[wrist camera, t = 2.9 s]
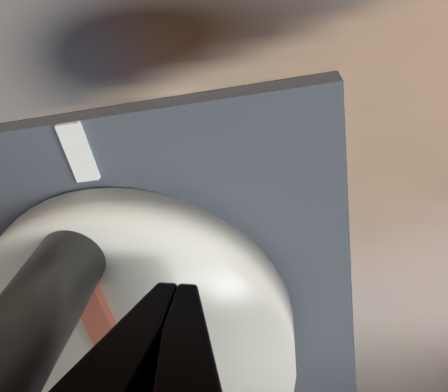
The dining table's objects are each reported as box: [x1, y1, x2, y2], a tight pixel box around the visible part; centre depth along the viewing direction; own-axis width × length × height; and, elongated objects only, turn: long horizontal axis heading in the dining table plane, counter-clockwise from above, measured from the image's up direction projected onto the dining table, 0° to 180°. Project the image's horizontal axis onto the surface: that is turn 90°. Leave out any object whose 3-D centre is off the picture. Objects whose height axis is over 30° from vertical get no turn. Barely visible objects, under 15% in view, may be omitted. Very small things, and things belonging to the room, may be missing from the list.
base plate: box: [0, 71, 356, 392], centre depth 16 cm, size 16×15×1 cm
